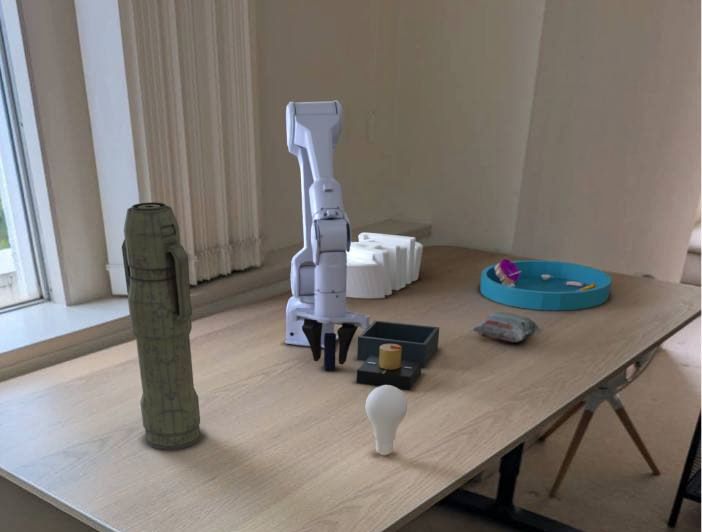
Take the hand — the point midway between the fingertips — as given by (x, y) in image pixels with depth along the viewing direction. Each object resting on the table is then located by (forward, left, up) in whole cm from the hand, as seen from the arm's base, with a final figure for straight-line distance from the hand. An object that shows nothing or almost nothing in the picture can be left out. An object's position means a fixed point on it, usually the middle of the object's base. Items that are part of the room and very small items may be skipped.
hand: (329, 361), depth 152 cm
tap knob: (+12, -1, +1) cm, 12 cm away
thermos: (-13, -37, -2) cm, 39 cm away
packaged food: (+28, +28, -2) cm, 40 cm away
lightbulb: (+20, -31, -2) cm, 37 cm away
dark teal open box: (+10, +12, -2) cm, 16 cm away
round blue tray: (+31, +66, -2) cm, 73 cm away
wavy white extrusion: (-10, +59, -2) cm, 60 cm away
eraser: (0, 0, -2) cm, 2 cm away
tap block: (+12, -1, -2) cm, 12 cm away
